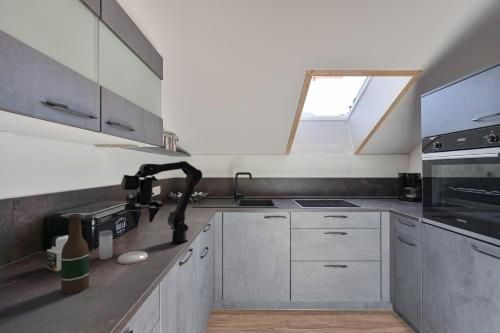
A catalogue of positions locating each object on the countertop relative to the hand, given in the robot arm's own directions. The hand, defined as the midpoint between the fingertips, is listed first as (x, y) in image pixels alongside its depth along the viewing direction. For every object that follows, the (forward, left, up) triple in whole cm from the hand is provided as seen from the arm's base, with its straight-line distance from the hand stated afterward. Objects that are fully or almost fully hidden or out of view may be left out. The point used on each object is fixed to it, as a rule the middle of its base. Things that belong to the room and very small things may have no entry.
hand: (143, 223), depth 116 cm
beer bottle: (+35, +10, -13) cm, 39 cm away
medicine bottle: (+27, -14, -13) cm, 33 cm away
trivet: (+9, +4, -12) cm, 16 cm away
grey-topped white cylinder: (+13, -8, -12) cm, 20 cm away
